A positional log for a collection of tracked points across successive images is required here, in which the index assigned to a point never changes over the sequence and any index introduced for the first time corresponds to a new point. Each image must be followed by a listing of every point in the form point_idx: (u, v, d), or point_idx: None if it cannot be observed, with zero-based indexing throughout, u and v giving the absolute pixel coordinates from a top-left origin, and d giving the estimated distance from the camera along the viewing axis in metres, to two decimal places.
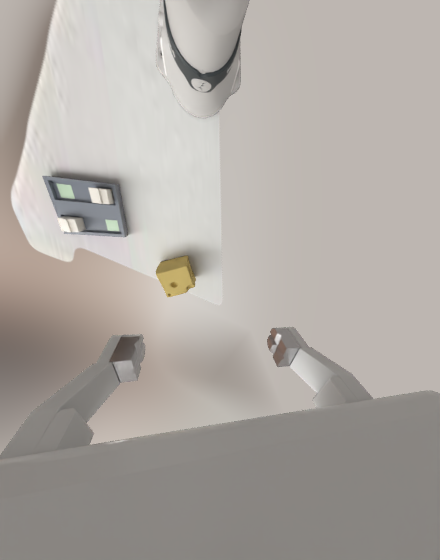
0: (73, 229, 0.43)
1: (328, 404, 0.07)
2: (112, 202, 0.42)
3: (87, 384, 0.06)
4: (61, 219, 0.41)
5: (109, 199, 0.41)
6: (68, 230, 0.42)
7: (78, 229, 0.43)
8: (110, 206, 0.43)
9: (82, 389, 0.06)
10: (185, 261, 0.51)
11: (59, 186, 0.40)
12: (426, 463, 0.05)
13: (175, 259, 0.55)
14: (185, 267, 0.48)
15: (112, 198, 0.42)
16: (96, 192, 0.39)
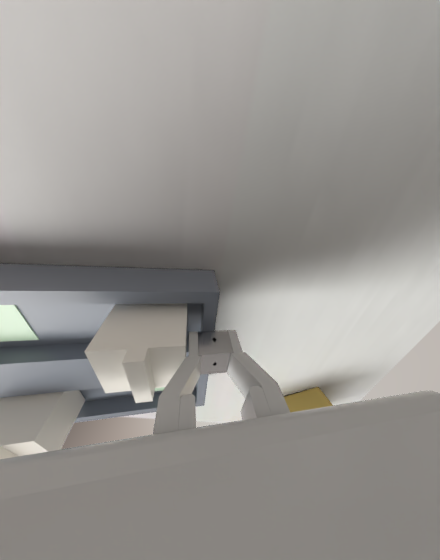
0: None
1: (248, 417, 0.07)
2: None
3: (190, 374, 0.07)
4: None
5: None
6: None
7: (55, 448, 0.11)
8: None
9: (188, 378, 0.07)
10: None
11: None
12: (426, 463, 0.05)
13: (298, 404, 0.23)
14: None
15: None
16: (133, 374, 0.07)
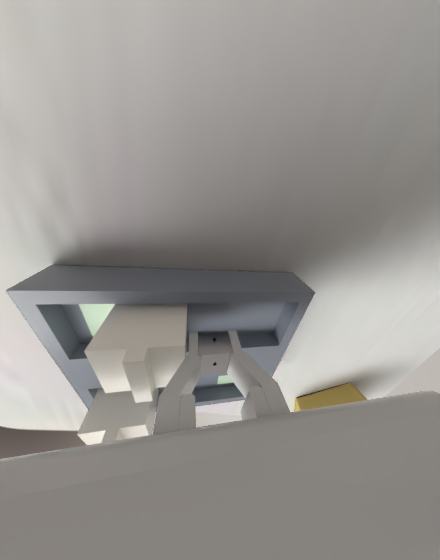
0: None
1: (248, 417, 0.07)
2: None
3: (190, 374, 0.07)
4: (95, 433, 0.10)
5: None
6: None
7: (150, 433, 0.12)
8: (262, 349, 0.12)
9: (189, 378, 0.07)
10: None
11: (89, 307, 0.09)
12: (426, 463, 0.05)
13: (334, 399, 0.24)
14: None
15: None
16: (133, 373, 0.07)
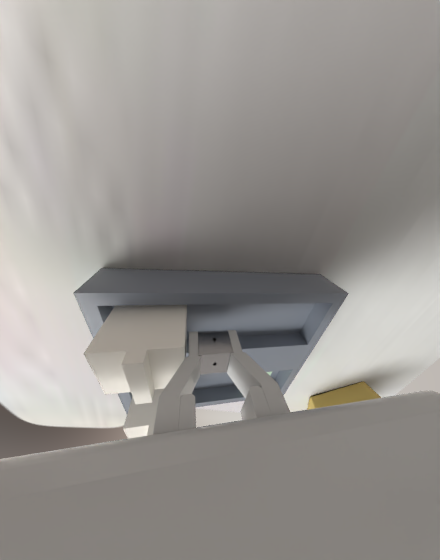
0: None
1: (248, 417, 0.07)
2: None
3: (190, 374, 0.07)
4: (139, 428, 0.11)
5: None
6: None
7: None
8: (291, 348, 0.13)
9: (189, 378, 0.07)
10: None
11: None
12: (426, 463, 0.05)
13: (348, 397, 0.25)
14: None
15: None
16: (133, 375, 0.07)
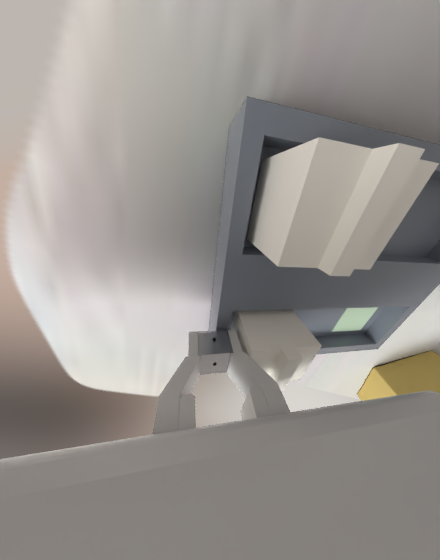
0: None
1: (248, 417, 0.07)
2: None
3: (190, 374, 0.07)
4: (268, 353, 0.08)
5: None
6: None
7: None
8: (430, 268, 0.10)
9: (188, 378, 0.07)
10: None
11: None
12: (427, 464, 0.05)
13: (419, 366, 0.22)
14: None
15: None
16: (384, 189, 0.04)
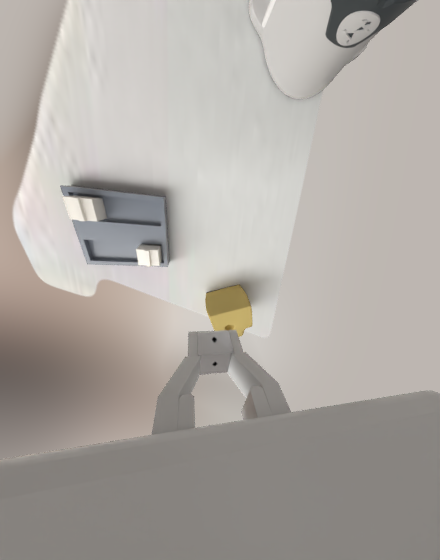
0: (153, 263, 0.32)
1: (248, 417, 0.07)
2: (102, 217, 0.28)
3: (189, 374, 0.07)
4: (141, 250, 0.30)
5: (97, 214, 0.26)
6: (148, 264, 0.31)
7: (159, 262, 0.32)
8: (153, 227, 0.30)
9: (188, 378, 0.07)
10: (245, 297, 0.38)
11: None
12: (427, 463, 0.05)
13: (226, 290, 0.42)
14: (249, 307, 0.36)
15: (102, 211, 0.28)
16: (75, 204, 0.24)
